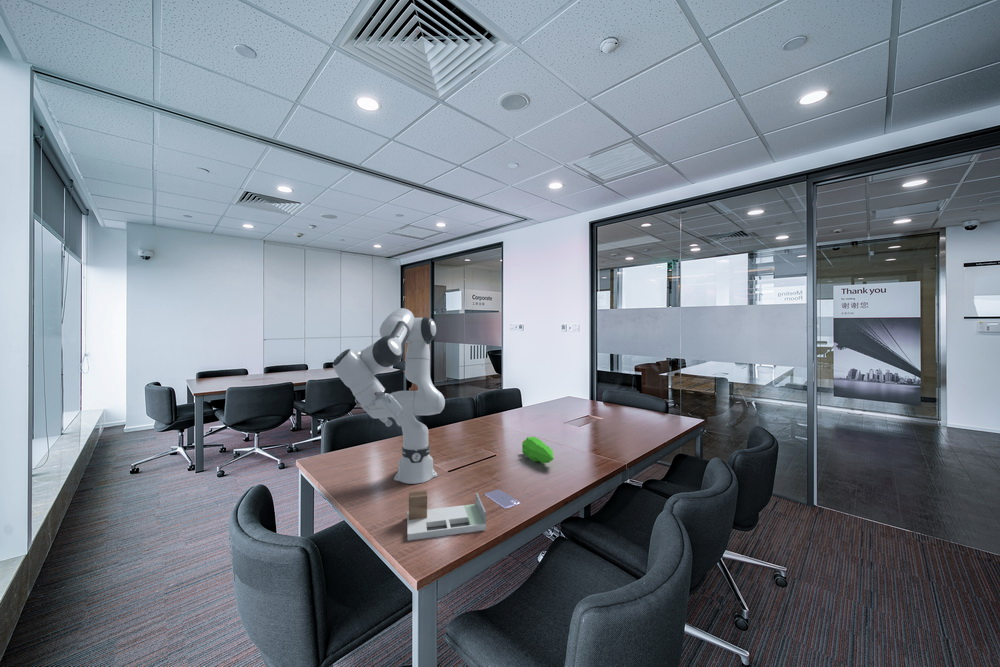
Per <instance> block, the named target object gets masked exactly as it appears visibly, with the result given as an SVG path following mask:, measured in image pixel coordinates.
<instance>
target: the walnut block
mask: <svg viewBox="0 0 1000 667" xmlns="http://www.w3.org/2000/svg"><path fill="white" fill-rule="evenodd" d="M427 510H428V493H427V489H420V490H411V491H408V512H409V520H414V519H422V518H427Z"/></svg>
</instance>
